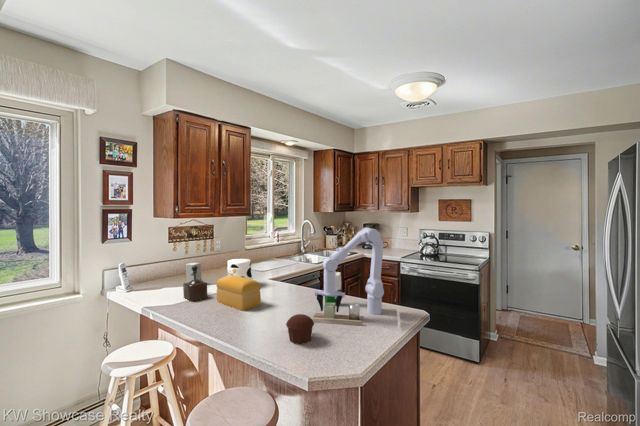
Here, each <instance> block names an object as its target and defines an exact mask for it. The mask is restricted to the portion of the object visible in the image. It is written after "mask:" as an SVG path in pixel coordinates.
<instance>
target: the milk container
mask: <svg viewBox="0 0 640 426" xmlns="http://www.w3.org/2000/svg"><path fill="white" fill-rule="evenodd" d="M251 261H252V260H251V259H249V258H234V259H229V260H227V264H226V265H227V270H226V271H227V275H226V276H229V275H234V276H239V277H243V278H248V279H252V280H254V279H253V275H252V262H251Z"/></svg>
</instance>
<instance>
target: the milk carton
mask: <svg viewBox="0 0 640 426" xmlns="http://www.w3.org/2000/svg"><path fill="white" fill-rule="evenodd" d="M341 272H342V271H341ZM341 272H339V271H335V274H336V291H337V292H342V275H341V274H342V273H341ZM336 298H337V297H333V296H324V305H325V304H326V303H335V307H337V301H336Z"/></svg>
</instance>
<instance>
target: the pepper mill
mask: <svg viewBox="0 0 640 426" xmlns="http://www.w3.org/2000/svg"><path fill="white" fill-rule="evenodd" d="M191 269H192V270H193V274H191V276H192V275H194V280H192V281H190V282H188V283H187V282H185V283H183V284H182V285H183V287H182V288H183V289H182V290H183V299H184V298H185V299H187V300H189V301H188V302H190V301H193V302H196V300H198V301H201V300H200V299H202V300H205V299H204V298H206V299H208V298H207V297H208V283H207V282H205V281H204V280H201V278H202V277H201V278H200V280H198V279H196V273H197V269H198V267H197V266H193V267H192V268H191ZM185 299H184V300H185ZM187 300H186V301H187Z"/></svg>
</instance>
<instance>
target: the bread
mask: <svg viewBox="0 0 640 426" xmlns="http://www.w3.org/2000/svg"><path fill="white" fill-rule="evenodd" d="M261 288H262V287H261V283H260V282H259V281H257V280H255V279H253V280H252V279H248V278H243V277H239V276H234V275H229V276H227V275H226V276H223V277H220V278H219V279H218V280H217V282H216V302H217V303H218V302H219V303H218V304H220V303H222V304H221V305H223V304H224V305H223V306H226V305H227V306H226V307H229V306H230V307H229V308H232V307H233V309H236V310H238V311H242V312H244V311H246V310H247V311H248V310H250V309H253V308H256V307H257V308H258V307H259V306H260V305H261V301H262V299H261Z"/></svg>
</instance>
